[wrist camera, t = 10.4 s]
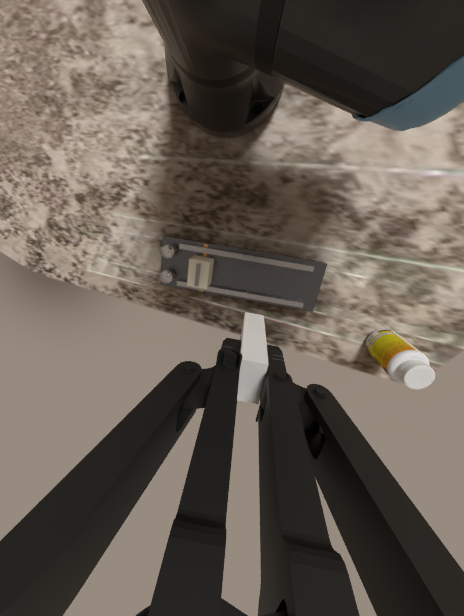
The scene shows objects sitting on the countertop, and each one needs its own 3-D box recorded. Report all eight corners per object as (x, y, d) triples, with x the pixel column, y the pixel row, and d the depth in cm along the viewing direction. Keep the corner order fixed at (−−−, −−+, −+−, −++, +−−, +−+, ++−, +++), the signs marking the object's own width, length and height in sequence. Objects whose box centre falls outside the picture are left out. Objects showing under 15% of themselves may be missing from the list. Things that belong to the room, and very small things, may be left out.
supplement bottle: (357, 346, 41) (388, 383, 32) (378, 322, 39) (417, 354, 30) (382, 359, 42) (421, 400, 32) (404, 336, 40) (452, 372, 30)
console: (167, 235, 37) (157, 236, 34) (323, 262, 37) (331, 266, 33) (164, 281, 40) (155, 287, 36) (309, 307, 40) (315, 316, 36)
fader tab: (195, 254, 36) (188, 259, 31) (214, 258, 36) (209, 263, 31) (193, 279, 37) (185, 286, 33) (211, 282, 37) (205, 290, 33)
